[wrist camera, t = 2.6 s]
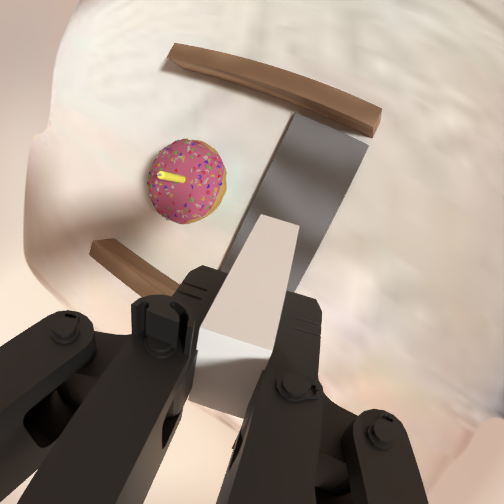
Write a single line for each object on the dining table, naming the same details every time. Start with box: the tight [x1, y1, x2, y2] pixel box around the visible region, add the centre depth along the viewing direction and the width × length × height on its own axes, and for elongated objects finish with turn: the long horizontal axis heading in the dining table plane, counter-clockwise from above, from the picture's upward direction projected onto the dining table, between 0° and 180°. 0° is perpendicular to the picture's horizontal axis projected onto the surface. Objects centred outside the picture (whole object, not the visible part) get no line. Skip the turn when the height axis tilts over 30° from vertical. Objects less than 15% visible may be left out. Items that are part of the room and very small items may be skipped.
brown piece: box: [89, 43, 382, 297], centre depth 32 cm, size 28×24×4 cm
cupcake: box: [147, 139, 226, 224], centre depth 29 cm, size 9×8×12 cm
